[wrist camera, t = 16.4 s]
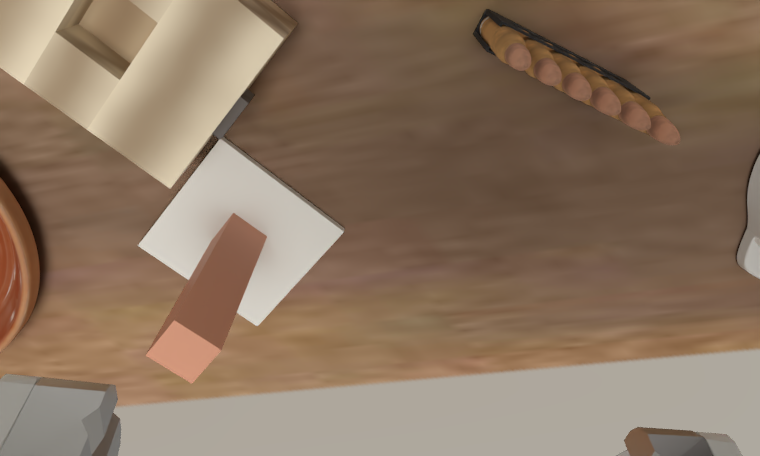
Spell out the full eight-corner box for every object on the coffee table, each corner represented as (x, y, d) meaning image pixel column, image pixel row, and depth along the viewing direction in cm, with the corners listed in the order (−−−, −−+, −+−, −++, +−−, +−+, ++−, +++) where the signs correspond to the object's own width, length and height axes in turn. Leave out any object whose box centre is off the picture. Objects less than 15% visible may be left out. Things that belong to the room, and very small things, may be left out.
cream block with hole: (305, 29, 42) (292, 45, 37) (203, 162, 46) (178, 194, 41) (79, -162, 38) (26, -176, 32) (-12, 3, 42) (-73, 16, 36)
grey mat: (344, 228, 48) (344, 231, 48) (258, 322, 52) (257, 326, 51) (222, 135, 45) (220, 138, 45) (140, 242, 49) (137, 245, 48)
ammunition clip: (472, 34, 42) (499, 74, 31) (486, 7, 41) (518, 38, 30) (611, 105, 44) (682, 165, 33) (627, 80, 43) (705, 134, 32)
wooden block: (267, 236, 48) (221, 350, 35) (244, 263, 49) (191, 383, 36) (233, 212, 47) (174, 320, 34) (211, 241, 48) (145, 355, 35)
